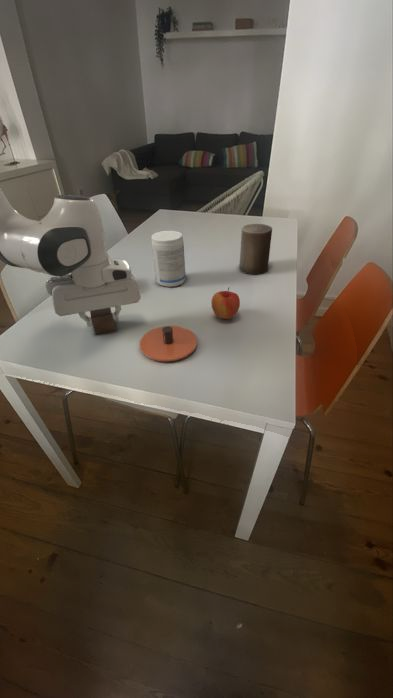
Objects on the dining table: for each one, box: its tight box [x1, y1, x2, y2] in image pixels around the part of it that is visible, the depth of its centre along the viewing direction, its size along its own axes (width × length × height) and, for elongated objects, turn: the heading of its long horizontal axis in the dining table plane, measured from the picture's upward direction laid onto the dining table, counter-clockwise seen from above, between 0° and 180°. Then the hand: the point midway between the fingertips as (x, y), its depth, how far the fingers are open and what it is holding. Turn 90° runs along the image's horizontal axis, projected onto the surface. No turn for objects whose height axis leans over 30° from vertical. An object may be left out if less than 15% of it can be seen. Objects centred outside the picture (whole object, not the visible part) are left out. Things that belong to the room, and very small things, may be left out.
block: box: [89, 307, 116, 336], centre depth 80 cm, size 5×5×5 cm
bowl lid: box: [139, 325, 198, 362], centre depth 74 cm, size 13×13×5 cm
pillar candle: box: [239, 223, 273, 275], centre depth 104 cm, size 10×10×15 cm
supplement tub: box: [150, 230, 186, 288], centre depth 98 cm, size 10×10×15 cm
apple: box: [210, 286, 241, 320], centre depth 82 cm, size 7×7×8 cm
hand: (103, 322), depth 81 cm, fingers closed on block, 5 cm apart
